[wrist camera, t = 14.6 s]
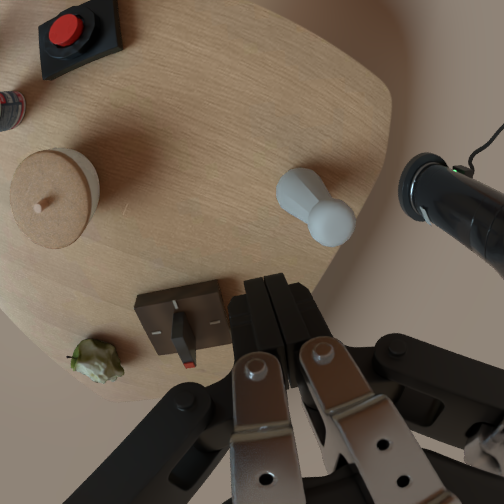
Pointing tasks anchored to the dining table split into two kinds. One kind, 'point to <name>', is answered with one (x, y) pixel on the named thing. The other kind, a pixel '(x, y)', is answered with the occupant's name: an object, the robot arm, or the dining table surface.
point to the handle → (184, 340)
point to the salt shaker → (315, 206)
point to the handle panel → (195, 308)
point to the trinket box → (54, 196)
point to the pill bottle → (11, 109)
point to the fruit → (97, 361)
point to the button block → (82, 38)
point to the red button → (66, 30)
